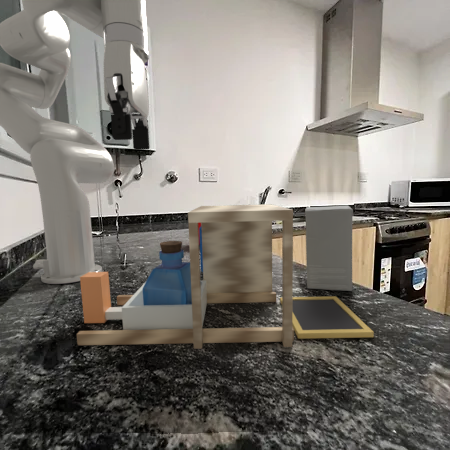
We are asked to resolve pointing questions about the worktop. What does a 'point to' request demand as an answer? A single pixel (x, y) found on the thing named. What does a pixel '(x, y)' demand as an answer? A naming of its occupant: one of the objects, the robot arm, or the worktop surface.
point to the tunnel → (239, 256)
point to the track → (187, 334)
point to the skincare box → (329, 247)
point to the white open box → (133, 307)
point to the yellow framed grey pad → (326, 319)
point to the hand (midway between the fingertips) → (133, 144)
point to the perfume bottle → (169, 278)
